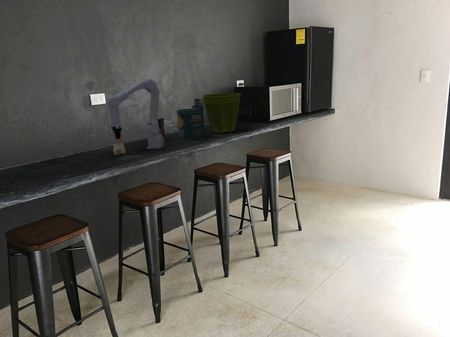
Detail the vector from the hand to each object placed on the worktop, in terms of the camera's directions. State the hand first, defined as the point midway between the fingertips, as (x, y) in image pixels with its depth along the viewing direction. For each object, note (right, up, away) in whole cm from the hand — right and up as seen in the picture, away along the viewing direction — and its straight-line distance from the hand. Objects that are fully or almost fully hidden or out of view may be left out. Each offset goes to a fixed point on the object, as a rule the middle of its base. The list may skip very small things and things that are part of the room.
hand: (117, 138), depth 237 cm
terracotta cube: (0, -2, 0) cm, 2 cm away
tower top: (0, -6, +2) cm, 7 cm away
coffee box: (+20, +1, +36) cm, 41 cm away
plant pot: (+66, +10, +61) cm, 91 cm away
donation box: (+43, +3, +39) cm, 58 cm away
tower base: (+1, -9, +2) cm, 10 cm away
